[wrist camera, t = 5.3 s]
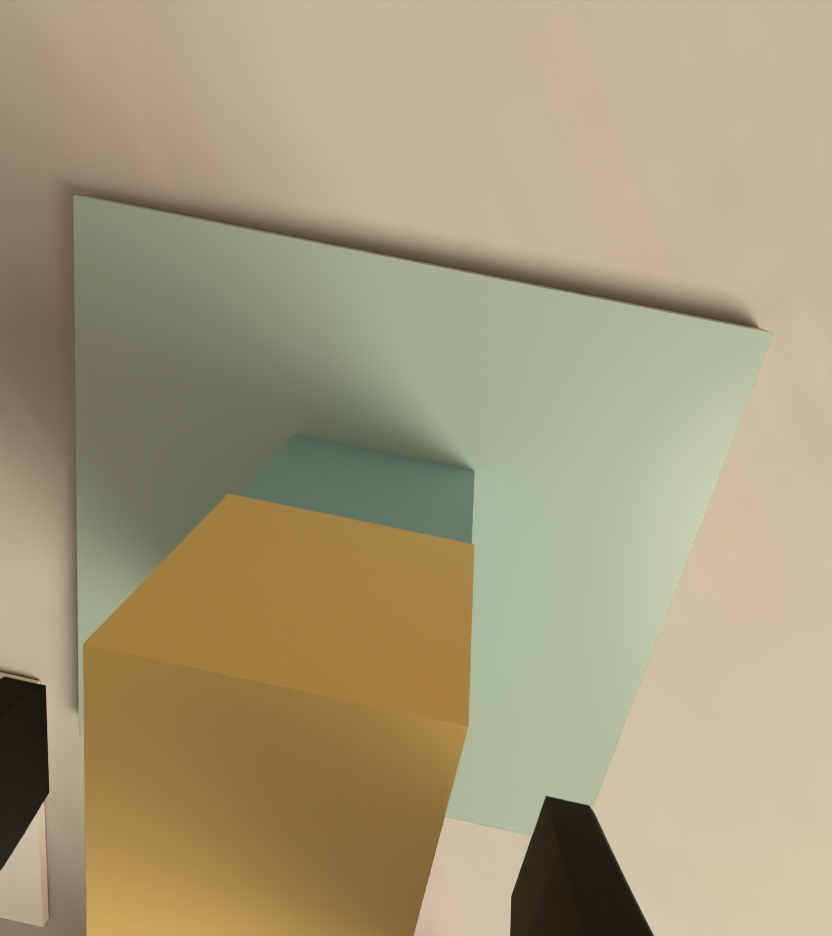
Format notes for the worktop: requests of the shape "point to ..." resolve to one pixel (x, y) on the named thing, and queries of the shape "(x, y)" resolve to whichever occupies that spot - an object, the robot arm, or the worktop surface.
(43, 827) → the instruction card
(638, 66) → the worktop surface
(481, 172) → the worktop surface
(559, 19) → the worktop surface
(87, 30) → the worktop surface
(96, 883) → the brick ochre
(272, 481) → the brick teal
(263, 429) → the baseplate
